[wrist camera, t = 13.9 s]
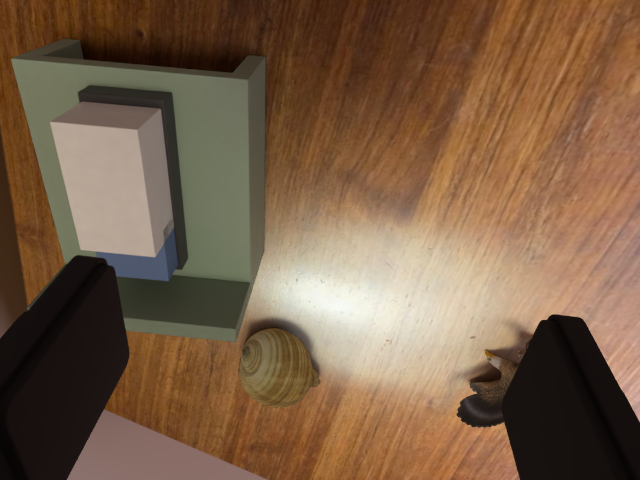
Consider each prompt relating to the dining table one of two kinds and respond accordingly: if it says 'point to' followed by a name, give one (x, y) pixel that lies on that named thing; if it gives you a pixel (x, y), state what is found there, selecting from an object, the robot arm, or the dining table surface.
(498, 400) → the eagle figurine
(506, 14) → the dining table surface
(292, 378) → the seashell
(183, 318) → the olive lipped platform
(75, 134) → the black base with blocks
